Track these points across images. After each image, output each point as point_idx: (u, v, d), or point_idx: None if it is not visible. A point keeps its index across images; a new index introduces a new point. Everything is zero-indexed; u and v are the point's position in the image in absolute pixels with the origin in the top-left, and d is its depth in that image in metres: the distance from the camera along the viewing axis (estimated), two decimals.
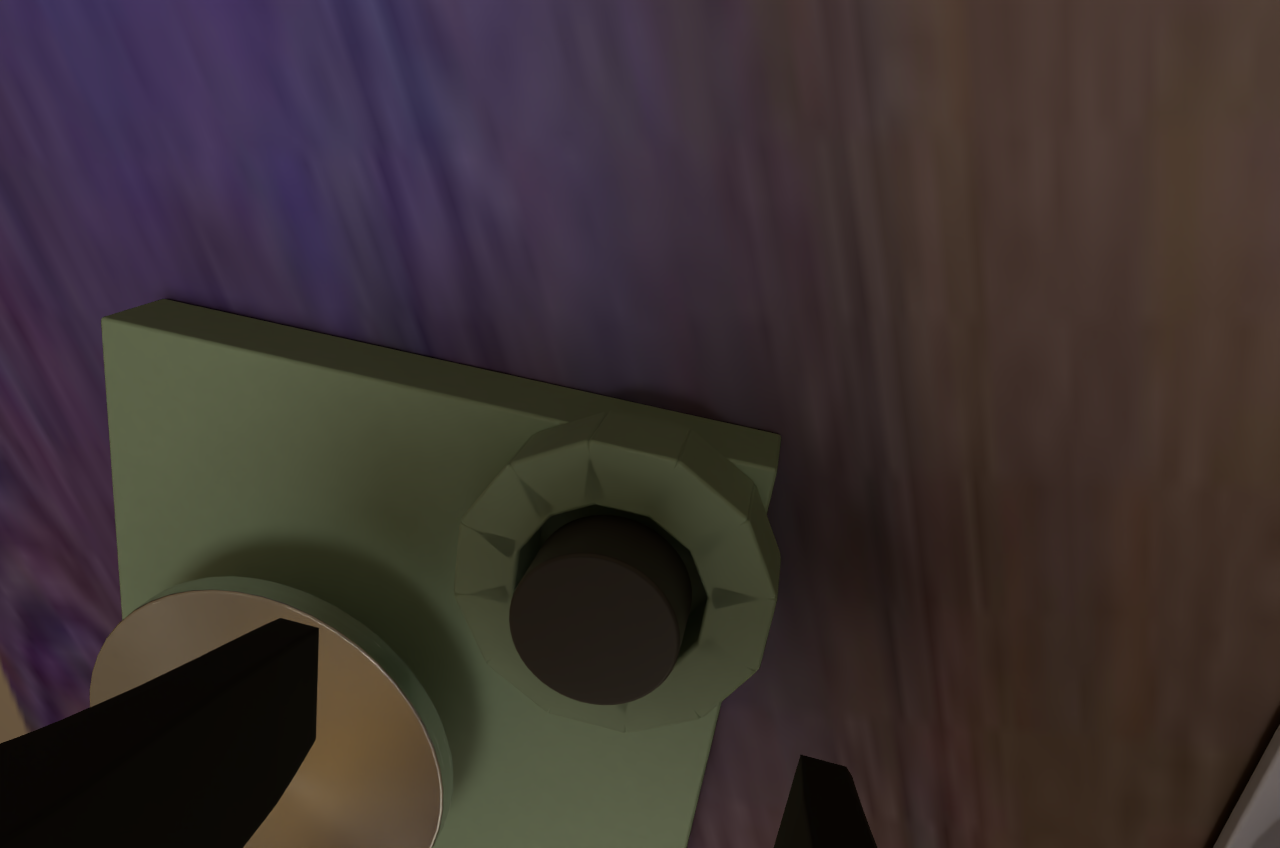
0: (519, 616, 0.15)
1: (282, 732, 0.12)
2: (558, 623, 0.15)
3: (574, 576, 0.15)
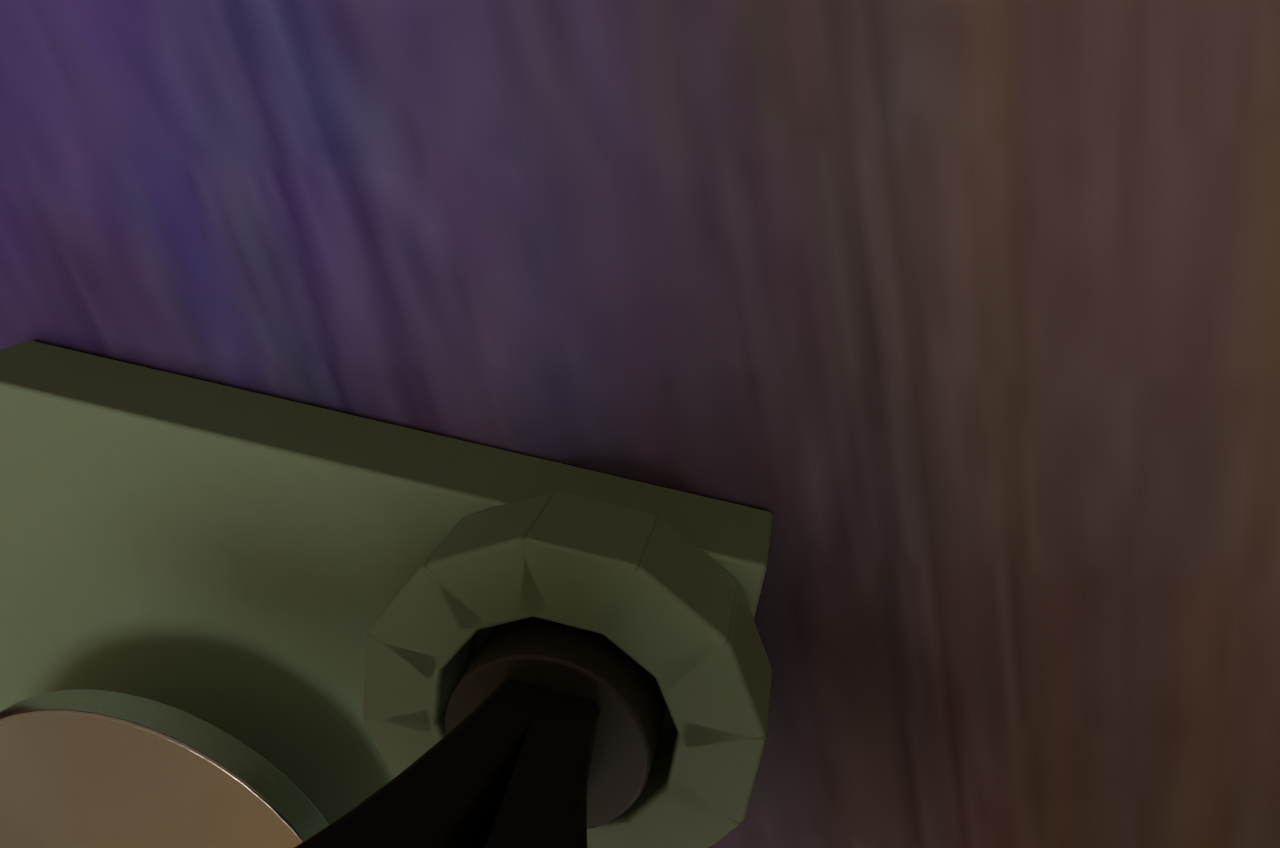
0: None
1: None
2: None
3: None
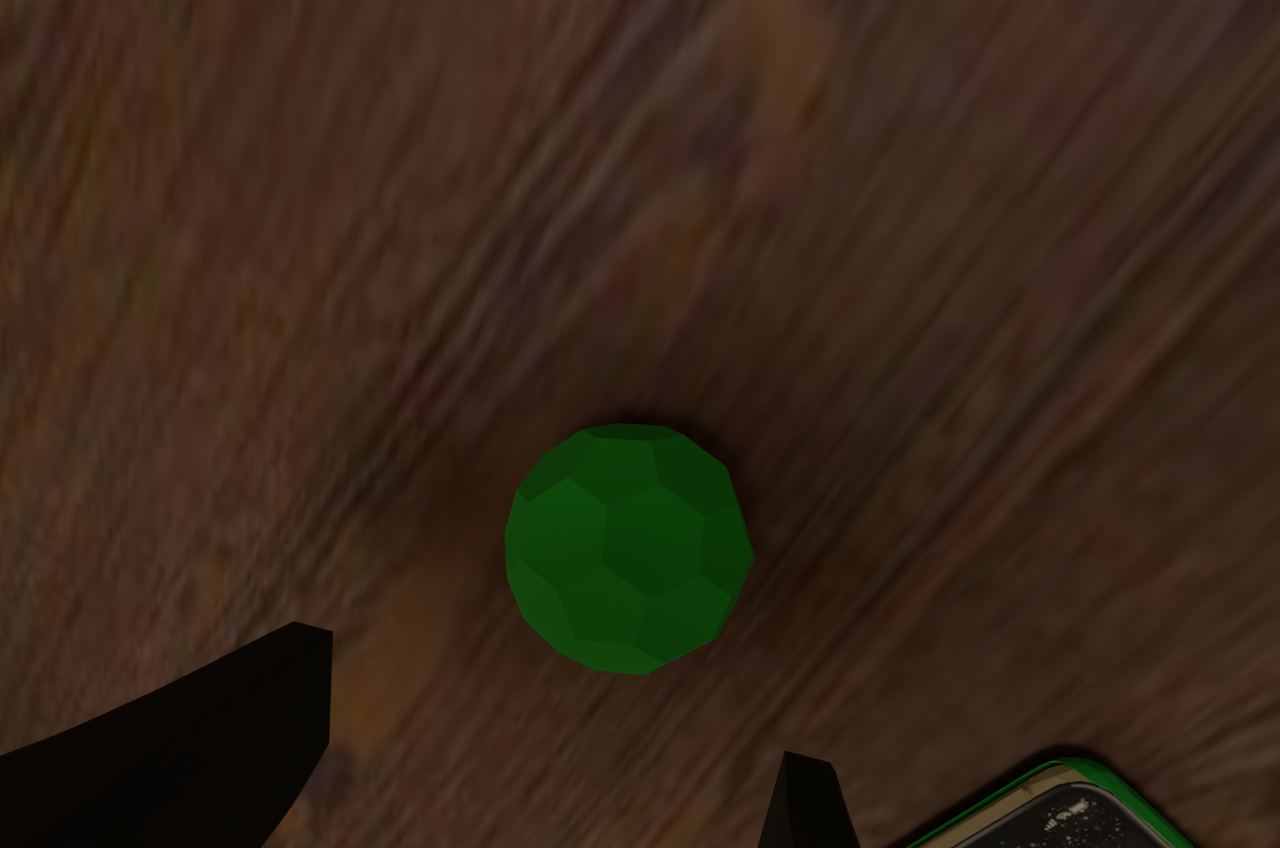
0: None
1: (297, 737, 0.12)
2: None
3: None
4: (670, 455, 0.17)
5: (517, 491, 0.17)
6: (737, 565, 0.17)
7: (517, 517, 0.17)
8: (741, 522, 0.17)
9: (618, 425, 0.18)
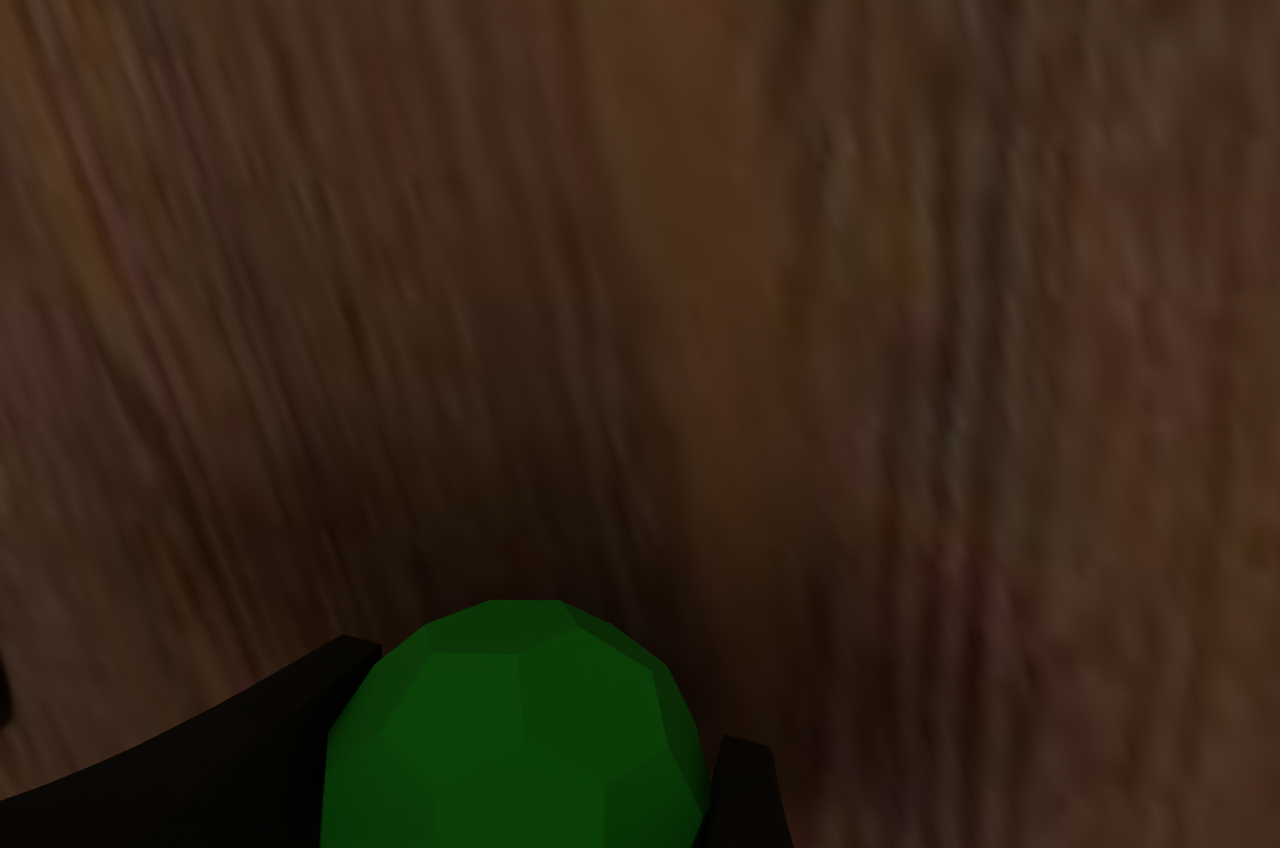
0: None
1: None
2: None
3: None
4: None
5: (699, 820, 0.10)
6: None
7: (666, 839, 0.10)
8: None
9: None
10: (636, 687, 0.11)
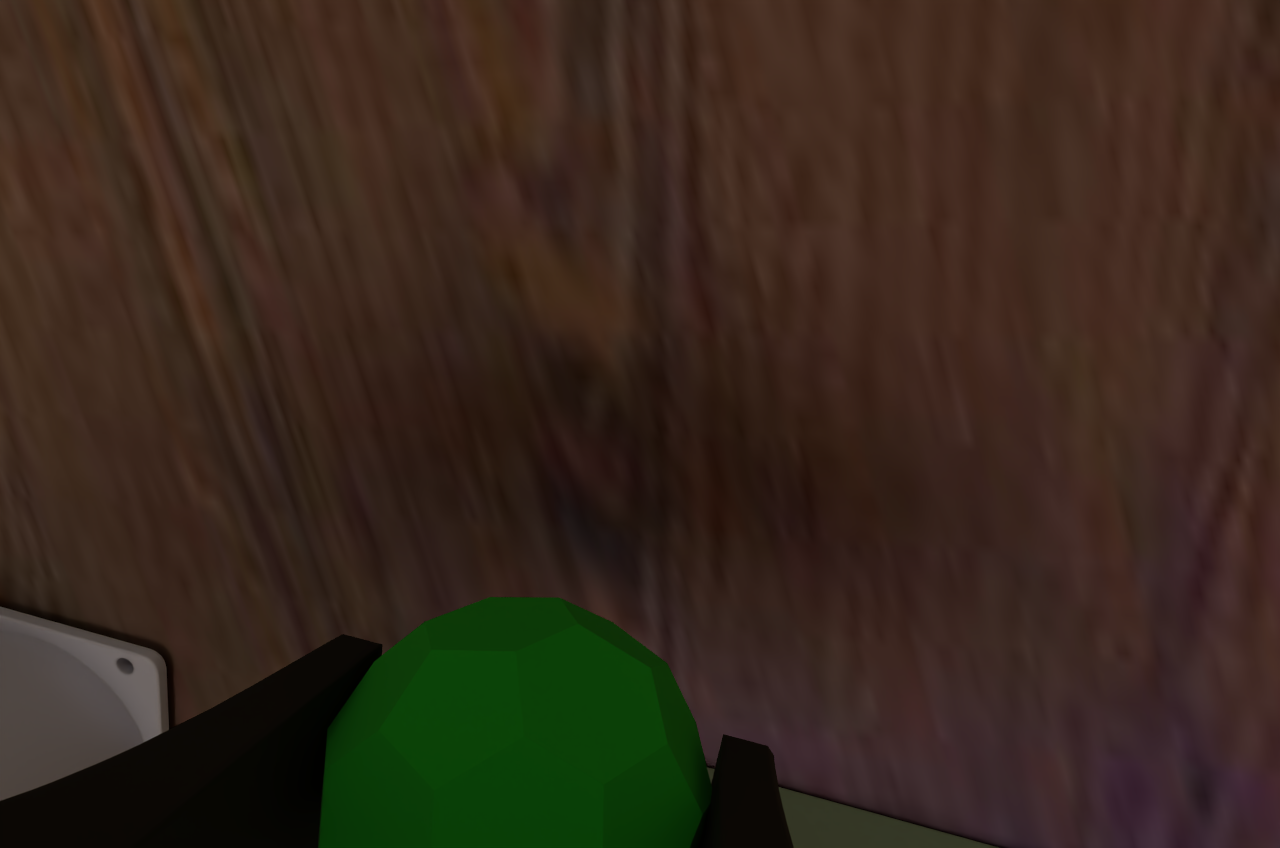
0: None
1: None
2: None
3: None
4: None
5: (699, 818, 0.10)
6: None
7: (665, 836, 0.10)
8: None
9: None
10: (635, 684, 0.11)
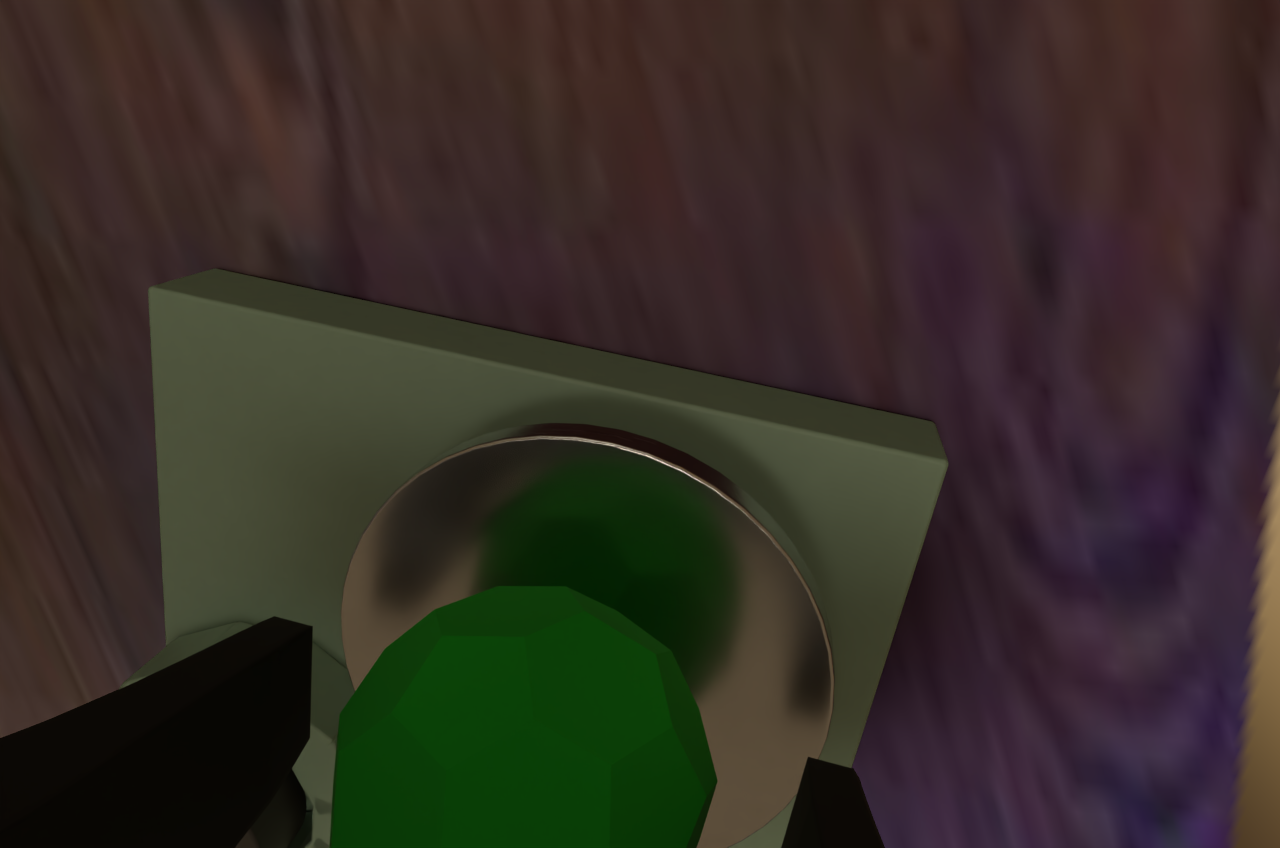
0: None
1: (277, 730, 0.12)
2: None
3: None
4: None
5: (704, 799, 0.11)
6: None
7: (670, 816, 0.10)
8: None
9: None
10: (641, 669, 0.11)
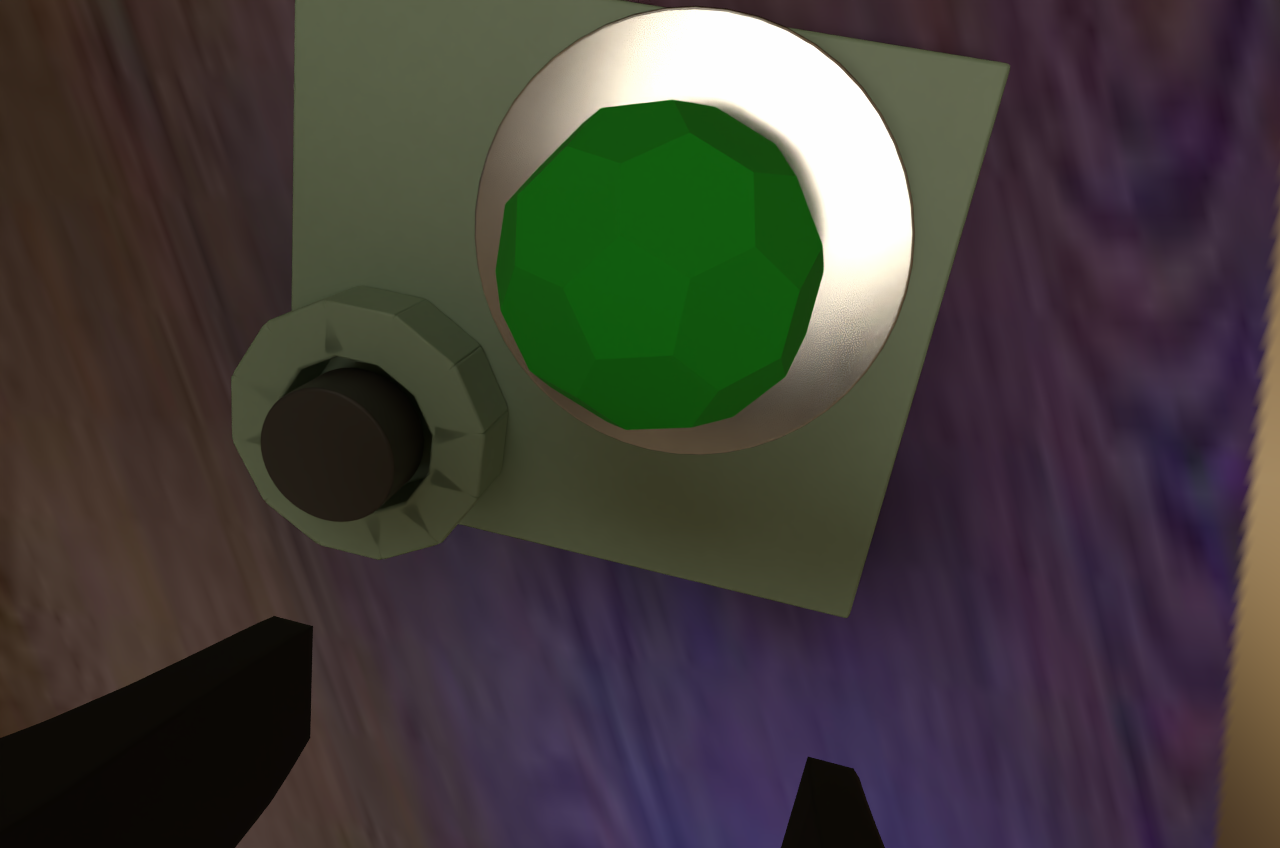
0: (384, 469, 0.18)
1: (276, 731, 0.12)
2: (352, 464, 0.18)
3: (343, 505, 0.19)
4: None
5: (820, 246, 0.13)
6: (553, 386, 0.14)
7: (797, 241, 0.12)
8: (588, 410, 0.14)
9: None
10: (766, 145, 0.13)
